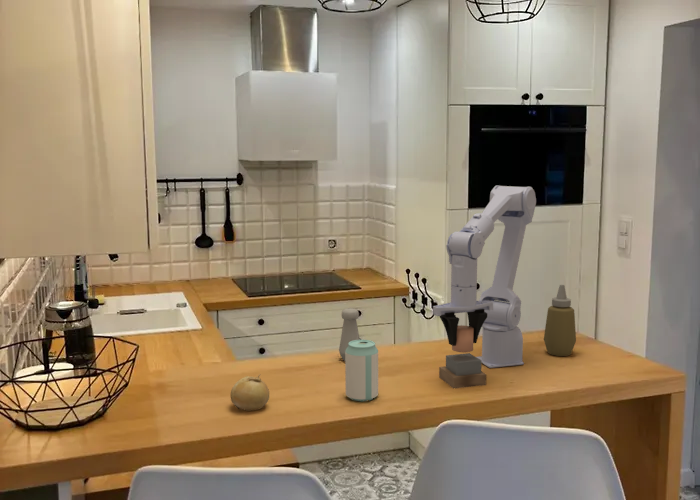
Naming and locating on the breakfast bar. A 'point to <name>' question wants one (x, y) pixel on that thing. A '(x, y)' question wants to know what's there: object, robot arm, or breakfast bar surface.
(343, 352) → the salt shaker
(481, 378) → the walnut slab
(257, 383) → the onion
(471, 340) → the salmon cylinder
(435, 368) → the breakfast bar surface
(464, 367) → the charcoal block
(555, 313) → the squeeze bottle
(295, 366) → the breakfast bar surface
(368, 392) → the can
